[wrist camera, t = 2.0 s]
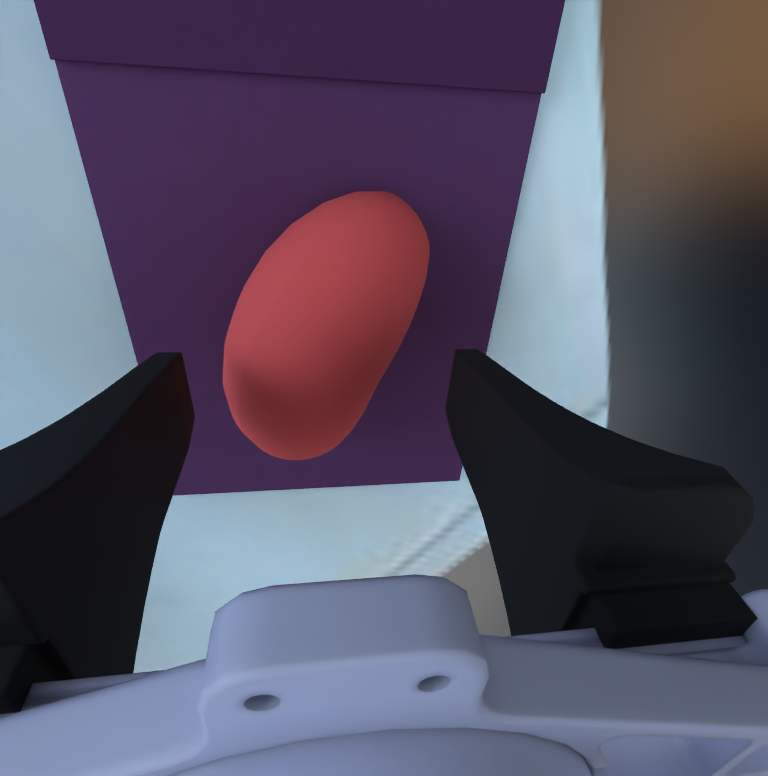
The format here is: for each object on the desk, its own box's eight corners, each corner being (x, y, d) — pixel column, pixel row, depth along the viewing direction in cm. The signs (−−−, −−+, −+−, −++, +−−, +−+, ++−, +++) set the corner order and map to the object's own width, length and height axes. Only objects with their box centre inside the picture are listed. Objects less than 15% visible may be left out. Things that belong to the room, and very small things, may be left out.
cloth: (457, 476, 23) (460, 484, 22) (174, 491, 21) (172, 499, 21) (581, -111, 12) (590, -116, 11) (-9, -190, 10) (-22, -200, 9)
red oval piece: (179, 316, 18) (182, 481, 15) (295, 116, 12) (333, 334, 9) (303, 341, 21) (323, 481, 18) (443, 195, 15) (503, 372, 12)
